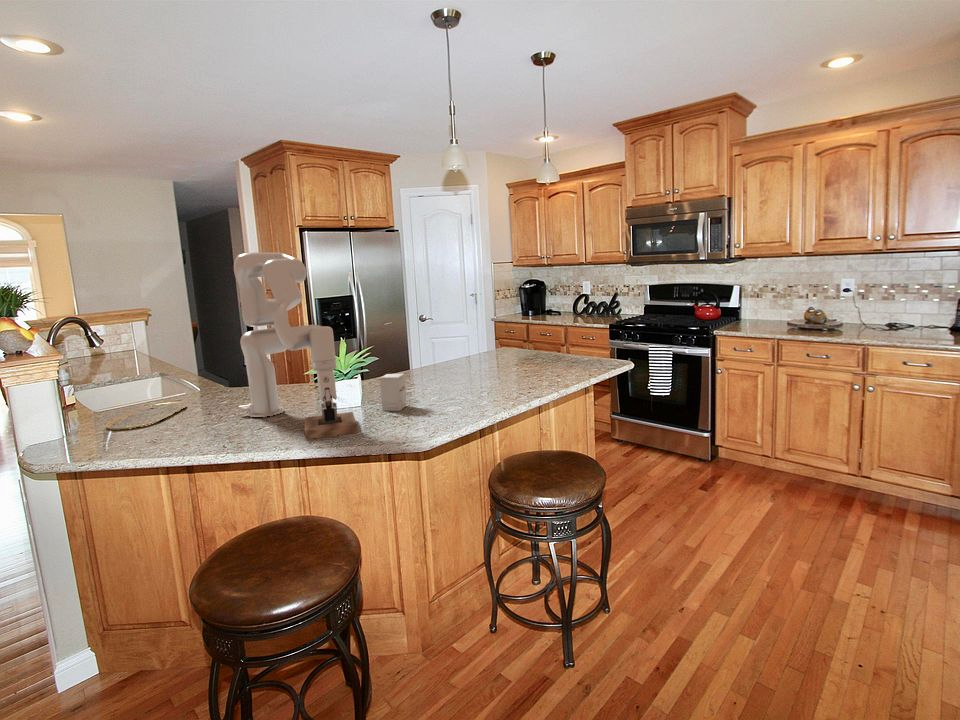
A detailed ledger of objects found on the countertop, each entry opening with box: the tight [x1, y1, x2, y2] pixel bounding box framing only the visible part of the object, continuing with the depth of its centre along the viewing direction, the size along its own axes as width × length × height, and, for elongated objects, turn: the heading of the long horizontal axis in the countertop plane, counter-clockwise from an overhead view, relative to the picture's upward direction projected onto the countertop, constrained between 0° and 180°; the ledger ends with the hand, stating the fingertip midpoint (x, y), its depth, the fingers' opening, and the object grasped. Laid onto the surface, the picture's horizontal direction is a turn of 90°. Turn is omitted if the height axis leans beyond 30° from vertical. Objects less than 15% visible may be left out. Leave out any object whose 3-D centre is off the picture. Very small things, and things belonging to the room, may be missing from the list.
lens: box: [320, 401, 338, 425], centre depth 176 cm, size 5×5×8 cm
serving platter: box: [105, 401, 188, 431], centre depth 205 cm, size 19×35×2 cm, turn 3°
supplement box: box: [379, 373, 407, 412], centre depth 199 cm, size 7×7×13 cm
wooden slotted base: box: [304, 411, 359, 440], centre depth 176 cm, size 16×16×3 cm
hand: (329, 417), depth 176 cm, fingers open, 6 cm apart
